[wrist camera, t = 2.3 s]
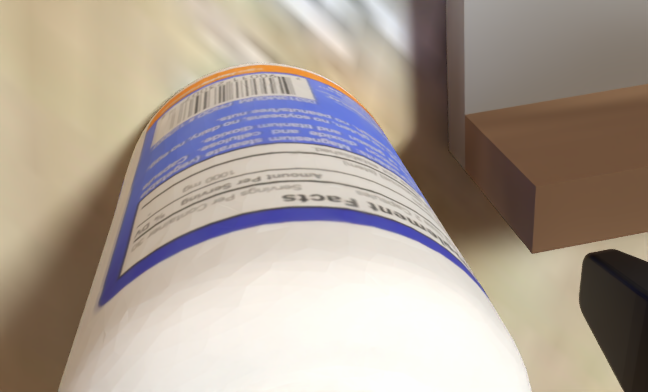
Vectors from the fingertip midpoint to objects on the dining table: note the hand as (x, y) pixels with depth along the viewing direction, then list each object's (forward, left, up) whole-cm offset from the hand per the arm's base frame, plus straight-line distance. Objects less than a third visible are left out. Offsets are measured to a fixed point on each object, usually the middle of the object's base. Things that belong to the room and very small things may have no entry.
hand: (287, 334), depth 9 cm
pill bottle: (0, 0, -5) cm, 5 cm away
